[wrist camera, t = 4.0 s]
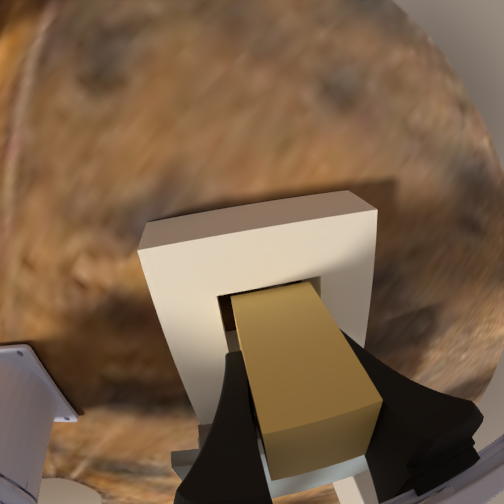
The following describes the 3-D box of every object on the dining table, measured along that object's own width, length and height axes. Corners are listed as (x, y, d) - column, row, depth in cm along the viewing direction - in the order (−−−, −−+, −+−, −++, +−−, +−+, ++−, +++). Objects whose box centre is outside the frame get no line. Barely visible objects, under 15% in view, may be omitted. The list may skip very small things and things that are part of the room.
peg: (241, 354, 15) (271, 481, 9) (230, 296, 14) (262, 434, 8) (310, 340, 16) (365, 454, 9) (309, 281, 14) (382, 399, 8)
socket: (197, 389, 20) (200, 424, 18) (146, 222, 15) (137, 250, 12) (339, 358, 21) (356, 389, 19) (347, 190, 16) (377, 209, 13)
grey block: (200, 442, 23) (208, 511, 18) (169, 378, 19) (171, 467, 13) (348, 409, 25) (377, 469, 19) (361, 338, 21) (406, 409, 15)
